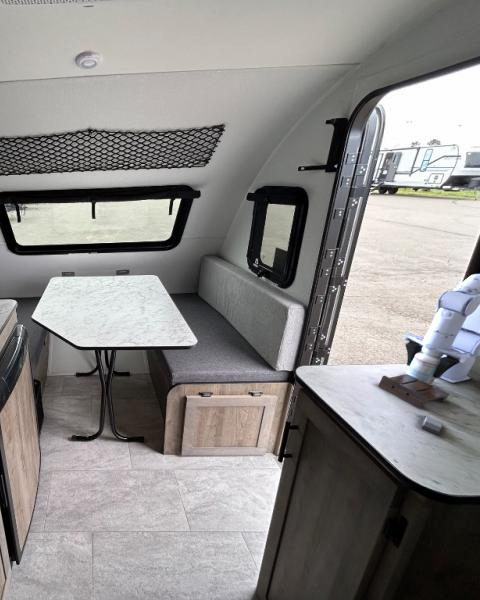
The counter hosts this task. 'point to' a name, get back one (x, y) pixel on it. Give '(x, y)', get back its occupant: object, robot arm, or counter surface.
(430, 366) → the pill bottle
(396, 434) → the counter surface
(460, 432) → the counter surface
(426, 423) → the grey faceted block
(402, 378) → the brown slab
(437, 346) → the robot arm
